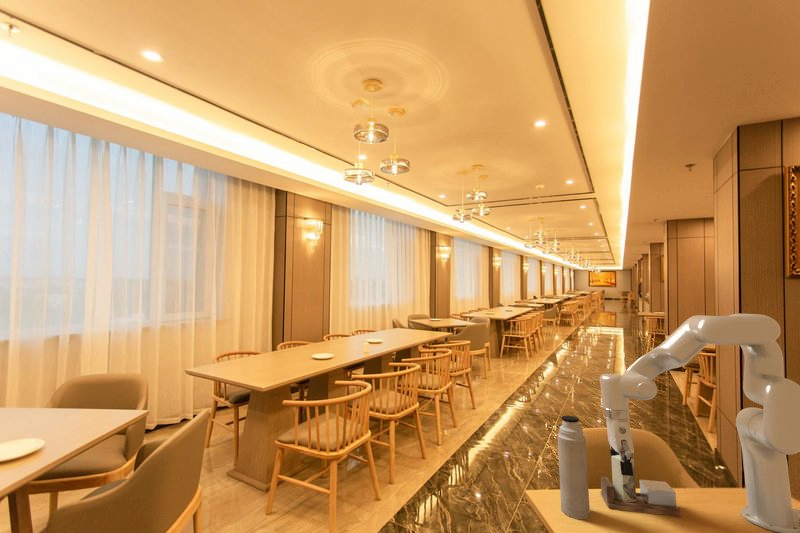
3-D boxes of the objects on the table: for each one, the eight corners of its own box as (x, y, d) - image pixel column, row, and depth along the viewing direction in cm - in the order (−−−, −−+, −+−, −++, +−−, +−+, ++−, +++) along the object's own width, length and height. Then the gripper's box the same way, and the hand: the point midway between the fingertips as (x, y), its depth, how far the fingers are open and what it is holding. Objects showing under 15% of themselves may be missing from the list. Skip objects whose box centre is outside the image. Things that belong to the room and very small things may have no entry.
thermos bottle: (585, 506, 117) (580, 414, 120) (593, 520, 109) (587, 421, 112) (558, 503, 118) (554, 412, 121) (564, 517, 110) (559, 420, 113)
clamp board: (667, 502, 119) (666, 481, 119) (680, 516, 111) (678, 494, 111) (600, 495, 123) (599, 475, 124) (608, 508, 115) (607, 487, 116)
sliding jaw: (666, 498, 118) (665, 481, 119) (676, 509, 112) (675, 491, 112) (640, 495, 120) (639, 479, 120) (648, 506, 114) (647, 488, 114)
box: (624, 504, 115) (621, 461, 117) (612, 497, 119) (610, 455, 121) (637, 501, 117) (634, 458, 118) (625, 494, 121) (622, 453, 122)
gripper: (639, 421, 112) (645, 481, 110) (619, 406, 129) (625, 458, 127) (611, 420, 114) (617, 480, 112) (596, 406, 130) (601, 457, 128)
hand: (621, 468), depth 119 cm, fingers open, 9 cm apart
